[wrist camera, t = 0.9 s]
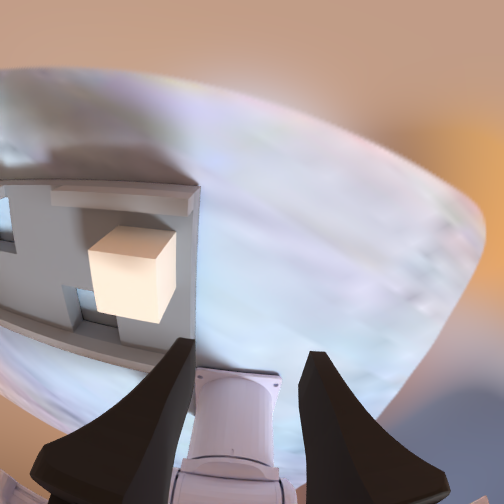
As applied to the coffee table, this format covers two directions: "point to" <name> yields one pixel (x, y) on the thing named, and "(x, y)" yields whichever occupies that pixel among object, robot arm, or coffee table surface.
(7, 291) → the board
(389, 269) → the coffee table surface
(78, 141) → the coffee table surface
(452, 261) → the coffee table surface
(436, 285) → the coffee table surface
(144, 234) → the block
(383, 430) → the robot arm
